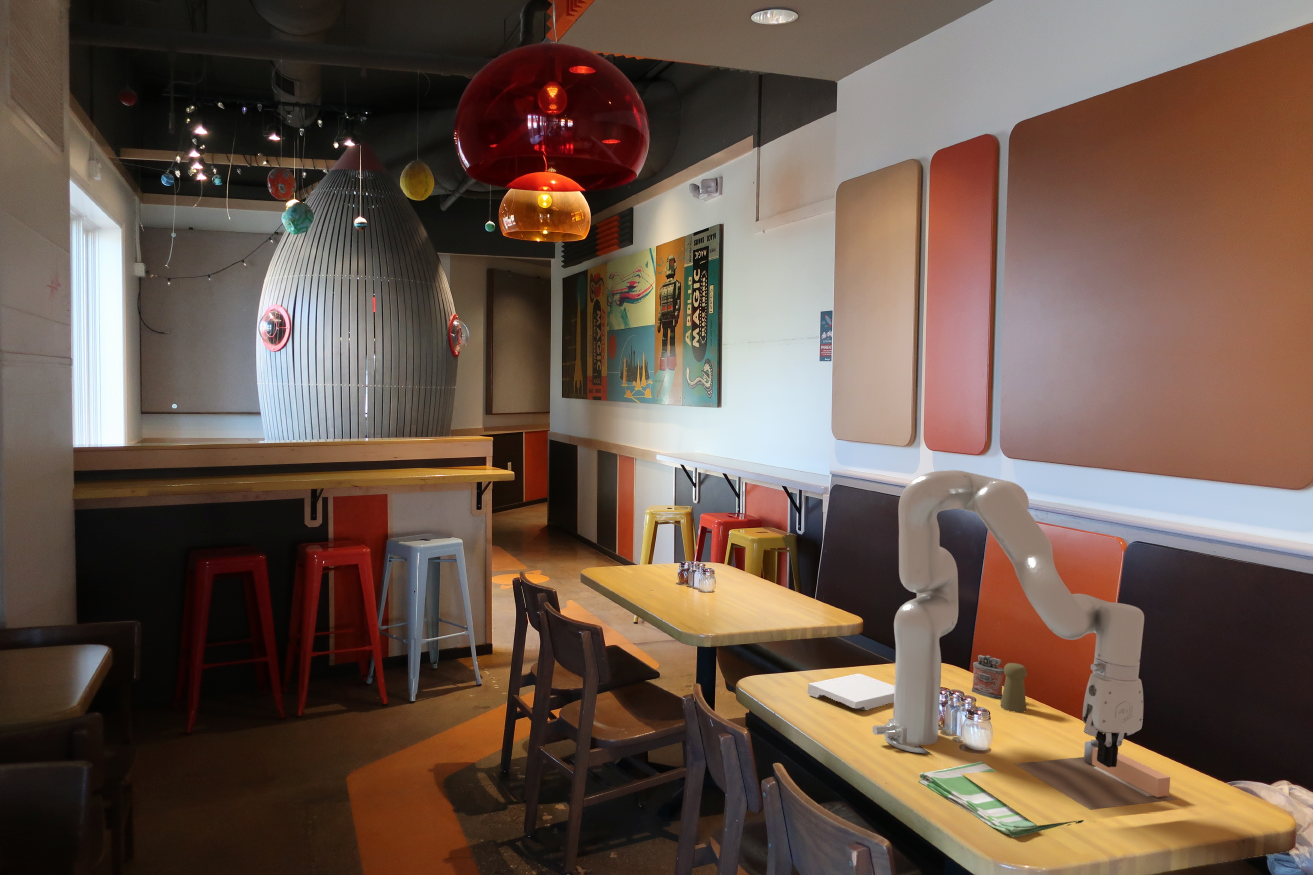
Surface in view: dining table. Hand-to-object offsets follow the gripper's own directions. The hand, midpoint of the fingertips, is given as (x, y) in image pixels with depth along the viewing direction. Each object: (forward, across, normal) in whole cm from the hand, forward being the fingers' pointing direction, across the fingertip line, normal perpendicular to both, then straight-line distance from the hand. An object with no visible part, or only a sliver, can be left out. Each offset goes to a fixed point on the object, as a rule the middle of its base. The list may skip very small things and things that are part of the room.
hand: (1106, 763), depth 160 cm
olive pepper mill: (+8, +16, +46) cm, 50 cm away
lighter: (+8, +15, +56) cm, 59 cm away
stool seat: (+7, +1, +4) cm, 8 cm away
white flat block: (+10, -21, +59) cm, 63 cm away
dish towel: (+8, -22, +2) cm, 23 cm away
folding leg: (+5, +8, +4) cm, 10 cm away
